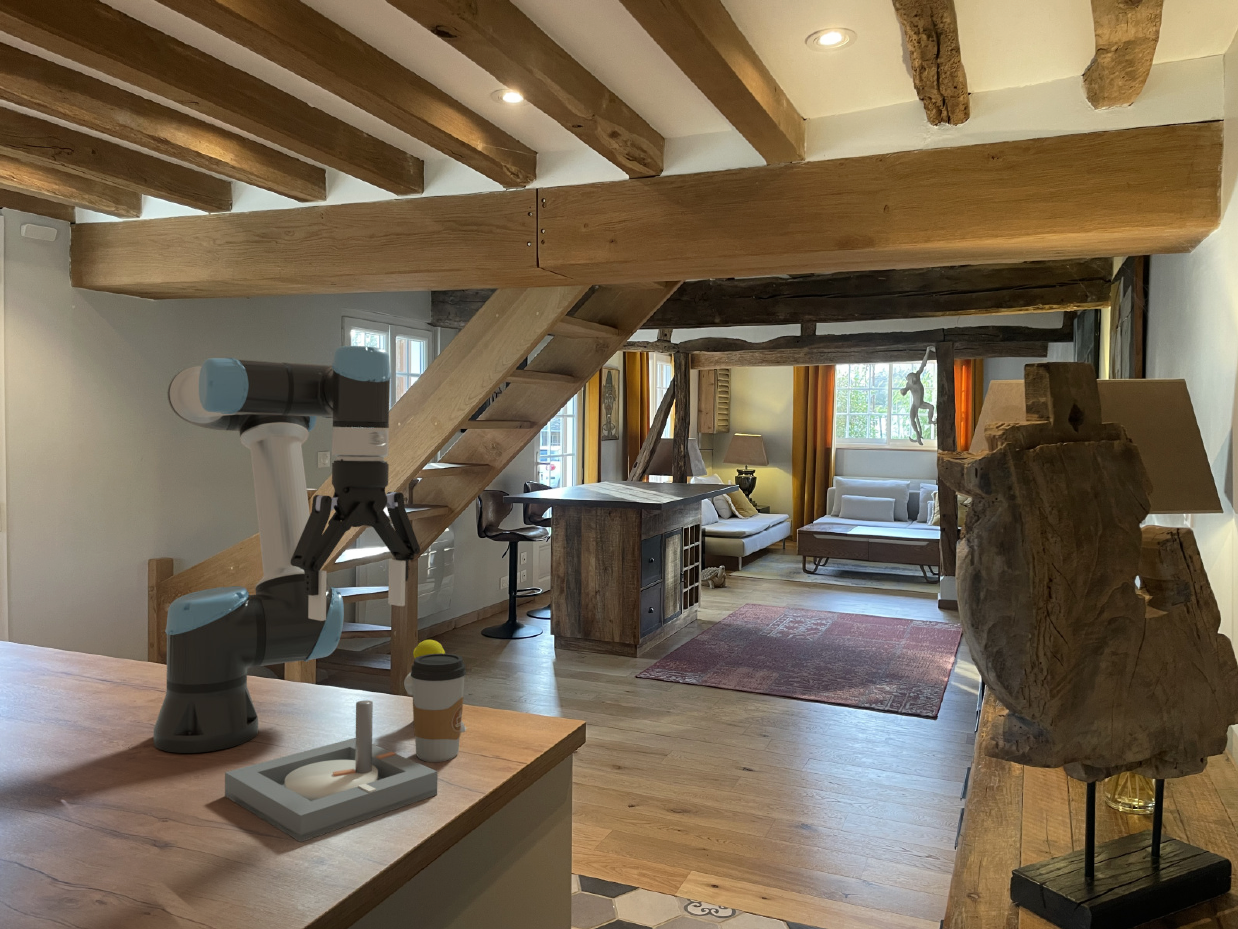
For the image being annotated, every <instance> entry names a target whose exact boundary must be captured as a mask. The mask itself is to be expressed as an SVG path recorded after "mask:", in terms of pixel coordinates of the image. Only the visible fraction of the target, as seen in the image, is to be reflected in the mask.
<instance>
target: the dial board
mask: <svg viewBox="0 0 1238 929" xmlns="http://www.w3.org/2000/svg"><path fill="white" fill-rule="evenodd" d="M355 752H356V737H353V738H349V739H345V740H343V741H342V740H341V741H339V742H334V743H331V744H327V745H323V746H319V747H316V748H315V747H314V748H312V749H307V750H304V751H300V752H297V753H293V754H289V755H285V756H281V757H278V758H273V759H270V760H267V761H262V762H259V763H255V764H251V765H247V766H244V767H240V768H236V769H232V770H230V771H225V772H224V797H225V798H227V799H229V800H231V801H232V802H234V803H236V804H238V805H239V806H240V807H242V808H243V809H245V810H248V811H249V812H250V813H252V814H254V815H255V816H257V817H259V818H260V819H261V820H263V821H265V822H267V823H268V824H270V825H272V826H273V827H275V828H277V829H279V830H280V831H281V832H282V833H285V834H287V835H288V836H290V837H291V838H293V839H294V840H296V841H298V842H300V843H302V842H304V841H308V840H310V839H313V838H317V837H319V836H322V835H325V834H327V833H331V832H333V831H337V830H339V829H343V828H345V827H348V826H351V825H353V824H357V823H359V822H362V821H364V820H365V821H366V820H368V819H371V818H374V817H376V816H379V815H382V814H385V813H388V812H391V811H394V810H397V809H400V808H402V807H405V806H408V805H411V804H414V803H418V802H420V801H423V800H426V799H429V798H432V797H435V796H437V795H438V771H437V770H436V769H433V768H430V767H428V766H426V765H423V764H421V763H419V762H416V761H414V760H412V759H410V758H406V757H405V756H402V755H400V754H397V753H396V752H394V751H390V750H387V749H385V748H383V747H381V746H378V745H375V744H374V743H372V765H373V766H375V767H376V768H377V770H378V780H377V781H374V782H371V783H368V784H362V785H358V787H355V788H352V789H348V790H345V791H342V792H339V793H336V794H332V795H329V796H326V797H323V798H320V799H316V800H313V801H310V800H308V799H306V798H304V797H302V796H300V795H299V794H297V793H295V792H293V791H291V790H289V789H287V788H286V787H285V778H286V776H287V775H288V774H289V773H290V772H292V771H294V770H295V769H298V768H300V767H302V766H305V765H309V764H312V763H317V762H322V761H330V760H355Z"/></svg>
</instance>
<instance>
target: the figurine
mask: <svg viewBox="0 0 1238 929" xmlns="http://www.w3.org/2000/svg"><path fill="white" fill-rule="evenodd" d="M441 653H443V654H446V651H445V650H444V648H443V646H442V644H441V643H440V642H438V641H437V640H433V639H424V640H423V641H421V642H418V644H417V646H416V647H415V648H414V649H413V652H412V656H413V659H415V658H417V657H419V656H422V655H428V654H441ZM403 684H404V688H405V691H406V692H407V694H408V695H409V696H413V687H412V677H411V671H409V673H408V675H406V677H405V678H404V682H403ZM412 719H413V720H412V722H413V723H414V716H413V718H412ZM466 730H467V727H466V726H465V724H464V721H461V733H465V732H466Z"/></svg>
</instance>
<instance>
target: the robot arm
mask: <svg viewBox="0 0 1238 929" xmlns="http://www.w3.org/2000/svg"><path fill="white" fill-rule="evenodd" d="M332 358H333V359H332V363H331V364H332V365H329V364H328V365H324V364H313V363H296V362H278V361H276V362H275V361H266V360H265V361H263V360H252V359H238V358H235V357H223V358H222V357H221V358H220V357H219V358H217V357H216V358H215V357H213V358H211V357H209V358H207V359H205V360H204V361H203V363H202V364H201V365H197V366H190V367H187V368H185V369H183V370H181V371H180V372H178V373H177V374H175V375H174V376H173V377H172V379H171V381H170V383H169V385H168V388H167V392H166V395H167V396H166V397H167V401H168V405H169V406H170V409H171V411H172V412H173V414H175V415H176V416H177V417H178V418H180V419H182V420H183V421H184V422H186V423H189V424H191V425H194V426H196V427H199V428H203V429H209V430H214V431H230V432H231V431H236V432H239V440H240V443H241V445H242V446H244V447H245V448H247V449H248V450H250V455H251V456H250V457H251V465H252V466H251V467H252V474H253V475H252V476H253V486H254V496H255V505H256V514H257V525H258V534H259V542H260V552H261V561H262V562H261V563H262V571H263V576H262V578H261V579H260V580H259V581H258V582H257V583H256V585H255V586H254V587H255V588H254V589H255V594H250V593H249V592H248V589H247V588H246V587H244V586H238V585H237V586H236V585H235V586H232V585H231V586H226V587H225V586H220V587H214V588H213V587H212V588H206V589H202V590H199V591H198V590H196V591H194V592H191V593H190V592H189V593H187V594H185V595H184V594H183V595H182V596H180V597H177V598H175V599H174V600H173V601H172V602H171V603H170V604H169V607H168V609H167V617H166V627H165V634H166V690H165V691H166V692H165V697H164V699H163V701H162V705H161V707H160V711H159V712H158V716H157V719H156V722H155V725H154V727H153V734H152V735H153V736H152V737H153V746H154V747H155V748H156V749H158V750H161V751H165V752H169V753H177V754H178V753H181V754H182V753H183V754H194V753H196V754H197V753H206V752H212V751H213V752H214V751H219V750H225V749H229V748H233V747H236V746H239V745H243V744H244V743H246V742H249V741H251V740H253V738H255V737H256V736H258V733H259V718H258V714H257V711H256V708H255V705H254V701H253V700H252V697H251V694H250V691H249V688H248V669H249V668H253V667H255V668H256V667H262V666H270V665H278V664H284V663H285V664H286V663H295V662H301V661H302V662H309V661H311V660H315V659H322V658H325V657H328V656H330V655H332V654H333V652H334V651H335V650H336V649H337V647H338V645H339V643H340V639H341V636H342V631H343V625H344V612H345V610H344V599H343V596H342V593H341V591H340V590H339V588H335V587H332V586H331V587H329V582H328V577H327V576H328V575H327V574H328V573H327V570H321V569H322V568H323V566H324V565H325V563H326V562H327V560H329V558H330V556H331V555H332V553H333V551H334V550H335V548H336V547H337V545H338V544H339V542H340V541H341V539H342V538H343V537H344V535H345V534H346V532H348V531H350V530H351V528H361V527H363V526H365V527H366V526H367V527H372V528H373V530H374V531H375V532H376V533H377V535H378V536H379V537H380V539H381V541H382V542H383V543H384V545H385V546H386V547H387V549H388V551H389V553H390V554H391V555H392V557H393V558H394V559H388V600H387V603H388V605H392V606H397V607H404V606H405V605H406V582H408V580H409V561H413V560H415V555H419V554H420V552H421V547H420V545H419V542H418V539H417V536H416V533H415V532H414V529H413V526H412V524H411V521H410V518H409V516H408V513H407V510H406V508H405V507H406V506H405V498H404V497H405V494H404V493H403V492H398V491H397V492H396V491H388V492H386V487H388V485H389V465H390V464H389V463H388V461H387V460H385V458H386V457H388V456H389V452H390V451H389V449H390V448H389V447H390V442H389V441H390V438H389V437H390V435H389V434H390V429H389V428H390V395H391V394H390V392H391V378H392V373H391V367H390V366H391V365H390V355H389V353H388V351H386V350H385V349H384V348H380V347H375V346H367V345H365V346H363V345H343V346H338V347H337V348H336V349H335V350H334V353H333V357H332ZM318 417H321V418H326V419H329V418H330V419H331V418H332V437H331V438H332V439H331V455H332V456H333V457H336V460H333V462H332V463H331V464H332V465H331V485H332V487H333V489H334V491H333V492H334V493H333V495H332V496H330V495H321V494H316V495H314V496H313V498H312V504H311V505H312V506H311V512H310V506H309V497H308V489H307V488H308V487H307V483H306V482H307V481H306V480H307V479H306V472H305V467H304V466H305V465H304V456H303V450H302V445H303V444H304V443H305V442H306V441H307V439H308V438H309V435H310V434H309V433H310V432H311V431H313V430H314V428H315V427H316V424H317V423H316V422H317V418H318ZM385 507H386V509H387V513H388V515H387V514H386V512H385V510H384V509H385ZM332 511H335V512H334V513H333V515H332V516H331V512H332ZM388 516H389V517H388ZM330 517H331V518H330ZM391 523H392V524H391ZM326 526H327V527H326Z"/></svg>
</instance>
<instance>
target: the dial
mask: <svg viewBox="0 0 1238 929" xmlns="http://www.w3.org/2000/svg"><path fill="white" fill-rule="evenodd" d="M373 707H374V703H373V701H372V700H368V699H367V700H359V701H356V702H355V738H356V752H355V760H330V761H322V762H317V763H312V764H309V765H305V766H302V767H300V768H298V769H295V770H294V771H292V772H290V773H289V774H288V775H287V776H286V778H285V787H286V788H287V789H289V790H291V791H293V792H295V793H297V794H299V795H300V796H302V797H304V798H306V799H308V800H310V801H313V800H316V799H320V798H323V797H326V796H329V795H332V794H336V793H339V792H342V791H345V790H348V789H352V788H355V787H358V785H362V784H368V783H371V782H374V781H377V780H378V770H377V768H376V767H375V766H373V765H372V744H373V712H374V711H373Z"/></svg>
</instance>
